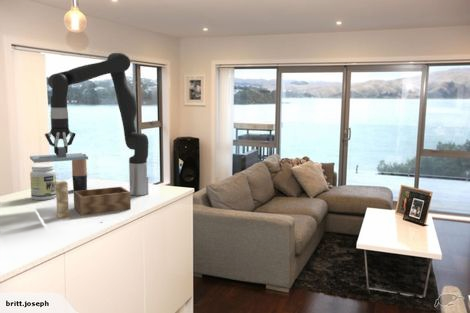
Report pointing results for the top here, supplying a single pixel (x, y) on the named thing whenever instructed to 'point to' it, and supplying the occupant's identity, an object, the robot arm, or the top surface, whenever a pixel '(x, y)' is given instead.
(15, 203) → the top surface
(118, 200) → the wooden box
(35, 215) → the top surface
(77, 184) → the travel mug
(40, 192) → the supplement tub
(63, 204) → the beech key
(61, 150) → the lid
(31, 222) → the top surface
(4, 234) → the top surface
